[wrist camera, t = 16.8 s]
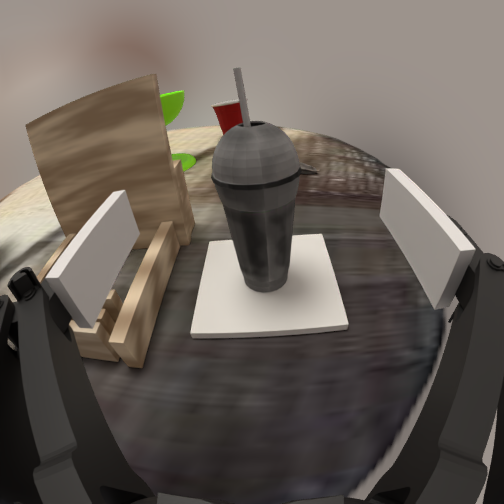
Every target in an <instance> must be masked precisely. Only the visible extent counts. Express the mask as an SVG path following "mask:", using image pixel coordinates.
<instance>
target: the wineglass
mask: <svg viewBox="0 0 504 504" xmlns="http://www.w3.org/2000/svg"><path fill="white" fill-rule="evenodd" d="M160 99H161V104H162V110H163V115H164V121H165V126H166V125H168V124H169V123H171V122H172V121H173V120H174V119H175V118H176V117H177V116H178V114H179V112H180V110H181V109H182V106H183V102H184V91H177V92H172V93H166V94H162V95H160ZM171 155H172V160H173V161H174V160H180V159H181V163H182V168H183V171H185V170H187V169H189V168H191V167H192V166H193V165H194V164H195V163H196V159H195V157H193V156H192V155H190V154H171Z"/></svg>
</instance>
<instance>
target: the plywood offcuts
mask: <svg viewBox="0 0 504 504" xmlns="http://www.w3.org/2000/svg"><path fill="white" fill-rule="evenodd" d="M122 306H123V303H122V301H121V300H120V298H119V296H118V294H117V292H116V291H115V290H110V292H109V294H108V296H107V298H106V300H105V303H104V305H103V307H102V309H101V311H100V313H99V316H98V318H97V320H96V322H95V325H94V327H93V329H89V328H79V327H78V325H77V324H76V323H75V321H74V320H73V319H71V321H70V323H69V325H70V326H71V328H72V329H73V332H74V335H75V339H76V342H77V346H78V349H79V352H80V355H81V357H86V358H93V359H100V360H107V361H115V362H119V358H120V356H119V355H118V353H117V352H116V351H115V350H114V348H113V347H112V346H111V345H110V343H109V339H110V336H111V334H112V331H113V328H114V326H115V323H116V321H117V318H118V316H119V313H120V311H121V308H122Z"/></svg>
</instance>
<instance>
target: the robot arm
mask: <svg viewBox="0 0 504 504" xmlns="http://www.w3.org/2000/svg"><path fill="white" fill-rule="evenodd" d="M380 218H381V219H382V221H383V222H384V224H385V225H386V227H387V228H388V230H389V231H390V233H391V234H392V236H393V237H394V239H395V241H396V242H397V244H398V245H399V247H400V249H401V250H402V252H403V254H404V255H405V257H406V259H407V260H408V262H409V264H410V265H411V267H412V269H413V271H414V272H415V274H416V276H417V278H418V280H419V281H420V283H421V285H422V287H423V289H424V291H425V293H426V294H427V296H428V298H429V300H430V302H431V304H432V306H433V308H434V310H435V309H440V308H445V307H449V306H450V304H451V302H452V300H453V298H454V296H455V295H456V297H457V299H458V301H459V303H458V305H457V307H456V309H455V311H454V312H453V314H452V316H451V318H450V319H449V321H448V322H449V323H450V322H451V321H452V319H453V322H452V326H451V329H450V333H449V337H448V340H447V344H446V347H445V350H444V353H443V356H442V359H441V362H440V365H439V368H438V371H437V374H436V377H435V379H434V382H433V385H432V387H431V390H430V392H429V395H428V397H427V400H426V402H425V404H424V407H423V409H422V411H421V413H420V416H419V418H418V420H417V422H416V424H415V426H414V428H413V430H412V432H411V434H410V436H409V438H408V440H407V442H406V443H405V445H404V447H403V449H402V451H401V453H400V455H399V456H398V458H397V459H396V461H395V463H394V464H393V466H392V467H391V468H390V469H389V470H388V471H387V472H386V473H385V474H384V475H383V476H382V477H381V479H380V480H379V481H378V482H377V484H376V485H375V487H374V488H373V489H372V491H371V492H370V494H369V495H368V496H367V498H366V499H365V500H360V499H354V498H346V497H343V495H338V496H329V497H321V498H313V499H304V500H293V501H289V502H286V503H282V504H475V503H476V501H477V498H478V497H479V495H480V493H481V490H482V488H483V486H484V484H485V481H486V477H487V466H486V465H485V464H484V463H483V462H482V457H483V453H484V450H485V448H486V445H487V441H488V439H489V435H490V432H491V429H492V425H493V422H494V418H495V414H496V410H497V422H496V432H495V440H494V448H493V455H492V460H491V465H490V471H489V475H488V480H487V484H486V489H485V494H484V499H483V504H504V262H503V261H502V260H501V259H500V258H499V257H497V256H496V255H493V254H490V253H483V252H482V251H481V250H480V248H479V247H478V246H477V245H476V243H475V242H474V241H473V240H472V239H471V237H470V236H469V235H467V233H466V232H465V230H463V229H462V227H461V226H460V225H459V224H458V223H457V222H456V221H455V220H454V219H453V218H451V217H450V216H448V215H446V214H445V213H444V212H443V211H442V210H441V209H440V208H439V207H438V206H437V205H436V204H435V203H434V202H433V201H432V200H431V199H430V198H429V197H428V196H427V195H426V194H425V193H424V192H423V191H422V190H421V189H420V188H419V187H418V186H417V185H416V184H415V183H414V182H413V181H412V180H411V179H409V178H408V177H407V176H406V175H405V174H404V173H403V172H402V171H401V170H400V169H386V173H385V182H384V190H383V197H382V204H381V210H380ZM139 235H140V232H139V230H138V227H137V224H136V221H135V218H134V215H133V212H132V209H131V206H130V203H129V200H128V197H127V194H126V191H125V190H121V191H116V192H113V193H112V194H111V195H110V196H109V197H108V198H107V199H106V200H105V202H104V203H103V204H102V205H101V206H100V207H99V208H98V210H97V211H96V212H95V213H94V214H93V215H92V217H91V218H90V219H89V220H88V221H87V223H86V224H85V225H84V226H83V228H82V229H81V230H80V231H79V232H78V234H77V235H76V236H75V238H74V239H73V240H72V241H71V243H70V244H69V245H68V247H67V248H66V249H65V250H64V251H63V253H62V254H61V255H60V257H59V259H57V261H56V262H55V264H54V265H53V266H52V268H51V269H50V271H49V272H48V274H47V275H46V277H45V278H44V280H43V281H42V283H41V284H40V282H39V280H38V279H37V277H36V275H35V274H34V272H33V271H32V269H31V268H30V267H25V268H23V269H21V270H19V271H18V272H17V273H15V274H14V275H13V277H12V278H11V279H10V281H9V283H8V288H9V289H10V291H11V292H12V294H13V295H14V296H15V298H16V299H17V302H14V303H13V302H12V301H11V300H10V298H9V297H8V295H2V296H0V504H233V503H229V502H226V501H221V500H210V499H200V498H192V497H184V496H177V495H170V494H164V493H158V496H155V495H154V494H153V492H152V491H151V489H150V488H149V487H148V485H147V484H146V483H145V482H144V481H143V480H142V479H141V478H140V477H139V476H138V475H137V474H136V473H134V471H133V470H132V469H131V468H130V466H129V465H128V463H127V461H126V459H125V458H124V456H123V454H122V452H121V450H120V448H119V447H118V445H117V443H116V441H115V439H114V437H113V435H112V433H111V431H110V429H109V427H108V424H107V422H106V420H105V418H104V416H103V414H102V411H101V409H100V407H99V404H98V402H97V399H96V397H95V395H94V392H93V389H92V387H91V384H90V382H89V379H88V376H87V373H86V370H85V367H84V365H83V362H82V358H81V355H80V352H79V349H78V346H77V342H76V339H75V335H74V332H73V329H72V328H71V326H70V325H69V323H70V321H71V319H73V320H74V321H75V323H76V324H77V325H78V327H79V328H89V329H93V327H94V325H95V322H96V320H97V318H98V316H99V313H100V311H101V309H102V307H103V305H104V303H105V300H106V298H107V296H108V294H109V292H110V290H111V288H112V286H113V284H114V282H115V280H116V278H117V276H118V274H119V272H120V270H121V268H122V266H123V264H124V262H125V260H126V258H127V257H128V255H129V253H130V251H131V249H132V247H133V246H134V244H135V242H136V240H137V238H138V237H139ZM8 338H9V339H10V341H11V342H12V343H13V344H14V345H15V350H13V349H12V348H11V347H10V346H9V345H8V344H7V340H8Z"/></svg>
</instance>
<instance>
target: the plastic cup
mask: <svg viewBox="0 0 504 504" xmlns="http://www.w3.org/2000/svg"><path fill="white" fill-rule="evenodd" d="M246 101H247V99H246ZM211 106H212V107H213V109H214V110H215V113H216V115H217V118H218V121H219V124H220V127H221V129H222V132H223V135H224V134H225V133H226V132H227V131H228V130H230V129H231V128H232V127H234V126H236V125H238V124H240V123H243V119H242V113H241V108H240V102H239V99H238V100H232V101H226V102H222V103H217V104H214V105H211Z"/></svg>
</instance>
